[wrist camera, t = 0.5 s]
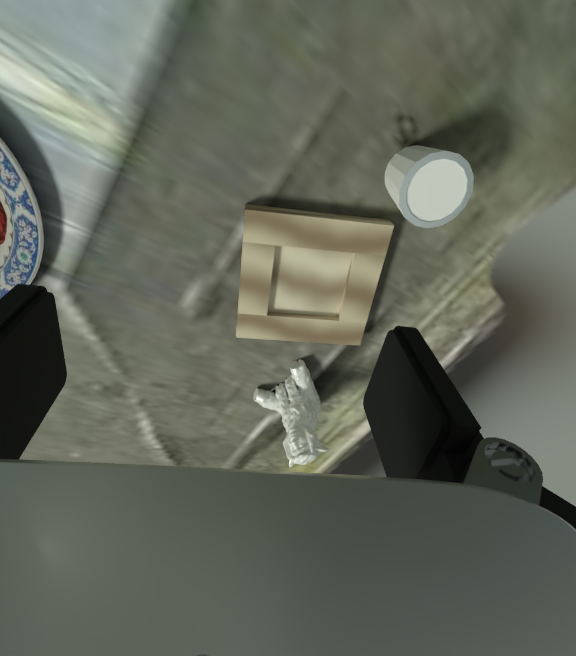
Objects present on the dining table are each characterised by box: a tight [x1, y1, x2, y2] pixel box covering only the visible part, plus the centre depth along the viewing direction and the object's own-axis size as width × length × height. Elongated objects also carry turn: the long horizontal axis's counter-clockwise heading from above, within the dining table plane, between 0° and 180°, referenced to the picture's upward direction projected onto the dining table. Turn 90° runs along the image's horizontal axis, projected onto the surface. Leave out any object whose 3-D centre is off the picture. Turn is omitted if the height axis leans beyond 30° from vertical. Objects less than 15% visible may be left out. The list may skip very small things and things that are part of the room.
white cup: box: [385, 145, 474, 228], centre depth 38 cm, size 7×7×7 cm
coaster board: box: [236, 204, 394, 345], centre depth 46 cm, size 16×16×2 cm
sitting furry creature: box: [253, 359, 328, 467], centre depth 52 cm, size 10×9×12 cm
